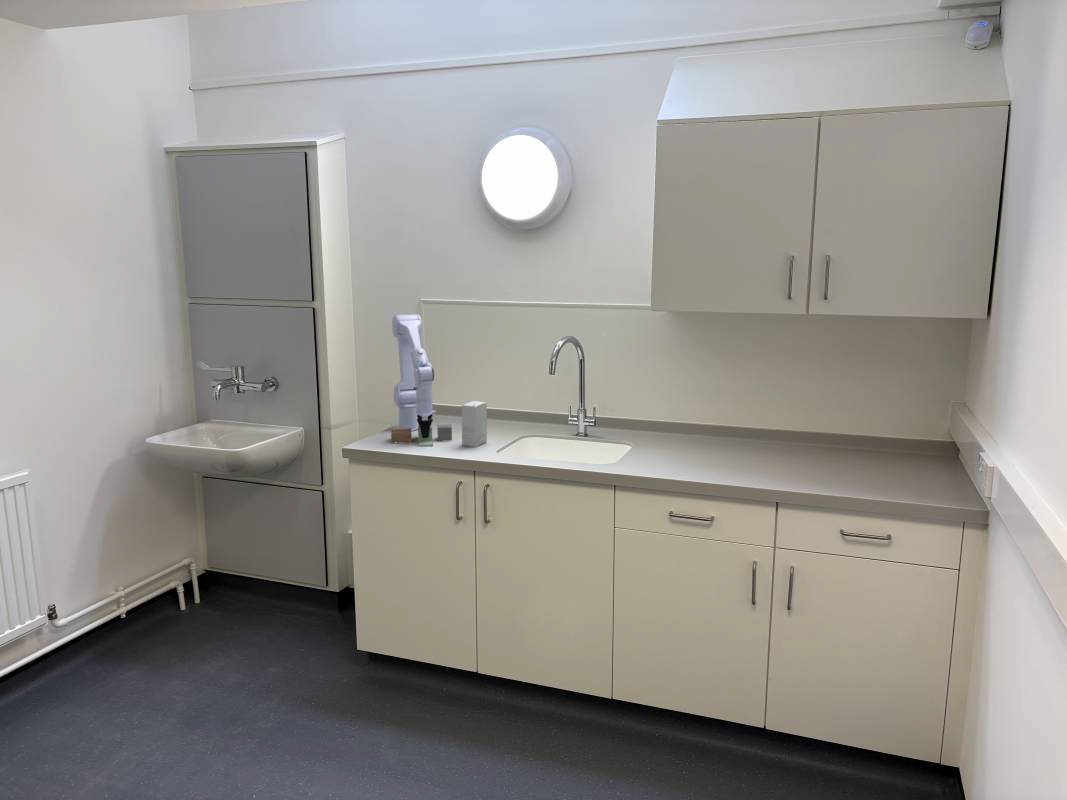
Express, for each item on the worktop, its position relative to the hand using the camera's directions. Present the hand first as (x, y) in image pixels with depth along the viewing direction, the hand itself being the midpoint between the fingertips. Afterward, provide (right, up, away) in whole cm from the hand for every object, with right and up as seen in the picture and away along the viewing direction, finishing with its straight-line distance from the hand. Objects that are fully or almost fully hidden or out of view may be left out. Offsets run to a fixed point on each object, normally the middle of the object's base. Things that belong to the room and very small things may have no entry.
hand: (425, 436), depth 282 cm
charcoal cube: (+7, -1, +1) cm, 7 cm away
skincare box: (+18, -3, -6) cm, 19 cm away
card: (+1, -3, -7) cm, 8 cm away
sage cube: (0, -2, 0) cm, 2 cm away
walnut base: (-8, -2, -1) cm, 9 cm away
